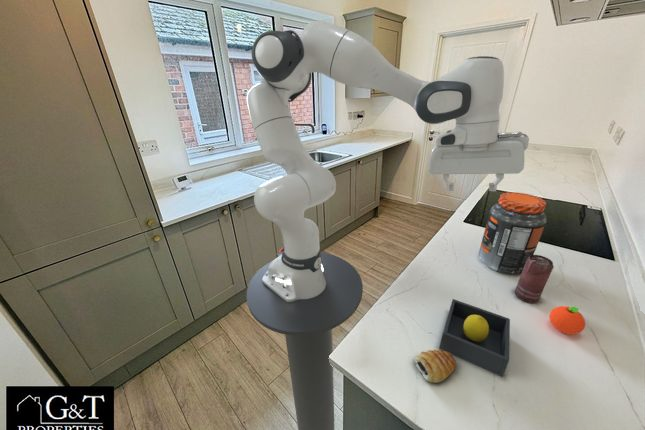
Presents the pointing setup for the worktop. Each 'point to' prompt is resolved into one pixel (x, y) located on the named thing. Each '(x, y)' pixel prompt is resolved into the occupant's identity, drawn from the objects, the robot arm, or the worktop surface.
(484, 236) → the supplement tub
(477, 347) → the bin
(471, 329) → the lemon
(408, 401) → the worktop surface
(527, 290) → the dark red glass cylinder
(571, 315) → the clementine
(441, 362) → the pastry
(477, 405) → the worktop surface
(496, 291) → the worktop surface
